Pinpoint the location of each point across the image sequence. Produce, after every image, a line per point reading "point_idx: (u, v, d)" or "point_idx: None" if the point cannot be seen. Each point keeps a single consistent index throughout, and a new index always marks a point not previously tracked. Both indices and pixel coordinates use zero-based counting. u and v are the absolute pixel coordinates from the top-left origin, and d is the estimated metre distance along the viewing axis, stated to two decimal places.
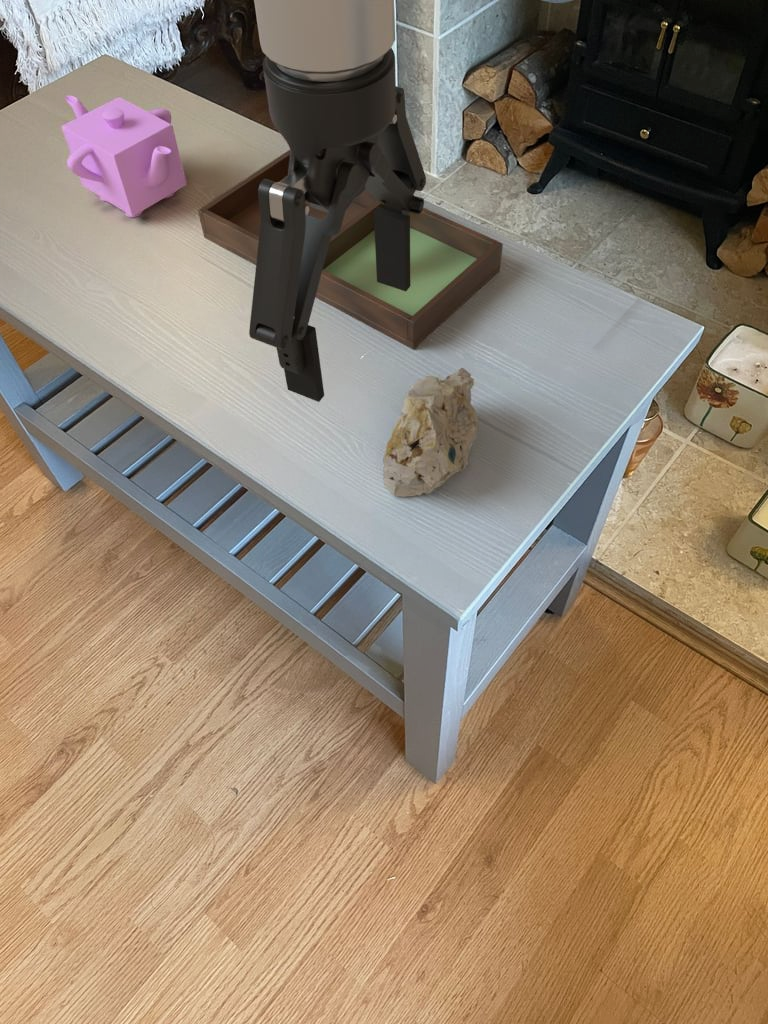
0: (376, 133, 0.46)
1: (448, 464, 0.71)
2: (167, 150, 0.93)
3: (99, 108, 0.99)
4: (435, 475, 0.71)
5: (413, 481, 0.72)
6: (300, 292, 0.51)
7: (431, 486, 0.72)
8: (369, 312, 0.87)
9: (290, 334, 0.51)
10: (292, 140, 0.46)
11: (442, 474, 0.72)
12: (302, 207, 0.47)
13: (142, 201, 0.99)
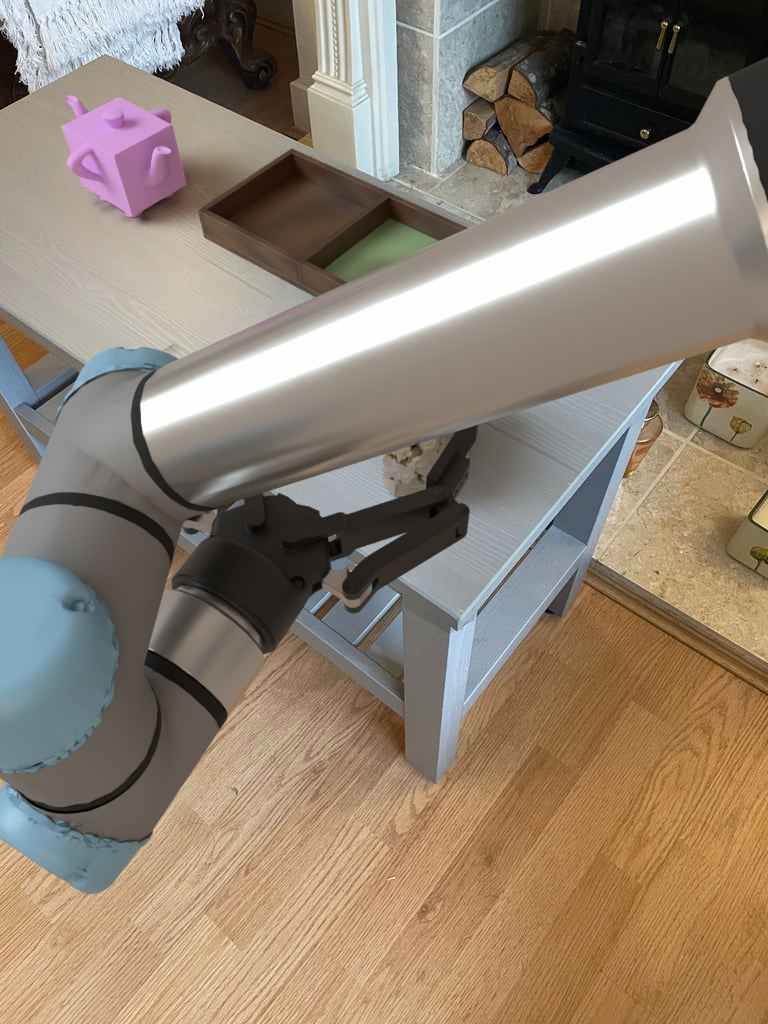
0: (256, 554, 0.47)
1: None
2: (167, 150, 0.93)
3: (99, 108, 0.99)
4: None
5: (413, 481, 0.72)
6: (409, 514, 0.51)
7: None
8: None
9: (451, 508, 0.51)
10: (302, 606, 0.49)
11: None
12: (353, 576, 0.48)
13: (142, 201, 0.99)
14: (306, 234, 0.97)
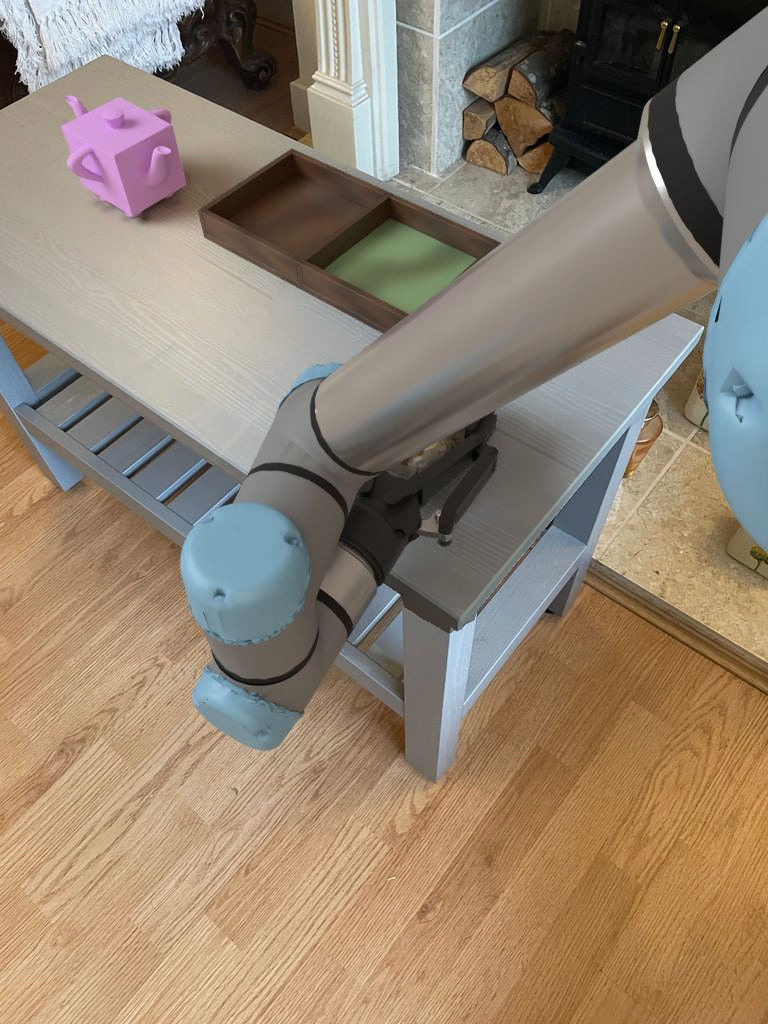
0: (371, 511, 0.63)
1: None
2: (167, 150, 0.93)
3: (99, 108, 0.99)
4: None
5: None
6: (461, 460, 0.69)
7: None
8: (369, 312, 0.87)
9: (485, 451, 0.69)
10: (401, 552, 0.65)
11: None
12: (443, 517, 0.65)
13: (142, 201, 0.99)
14: (306, 234, 0.97)
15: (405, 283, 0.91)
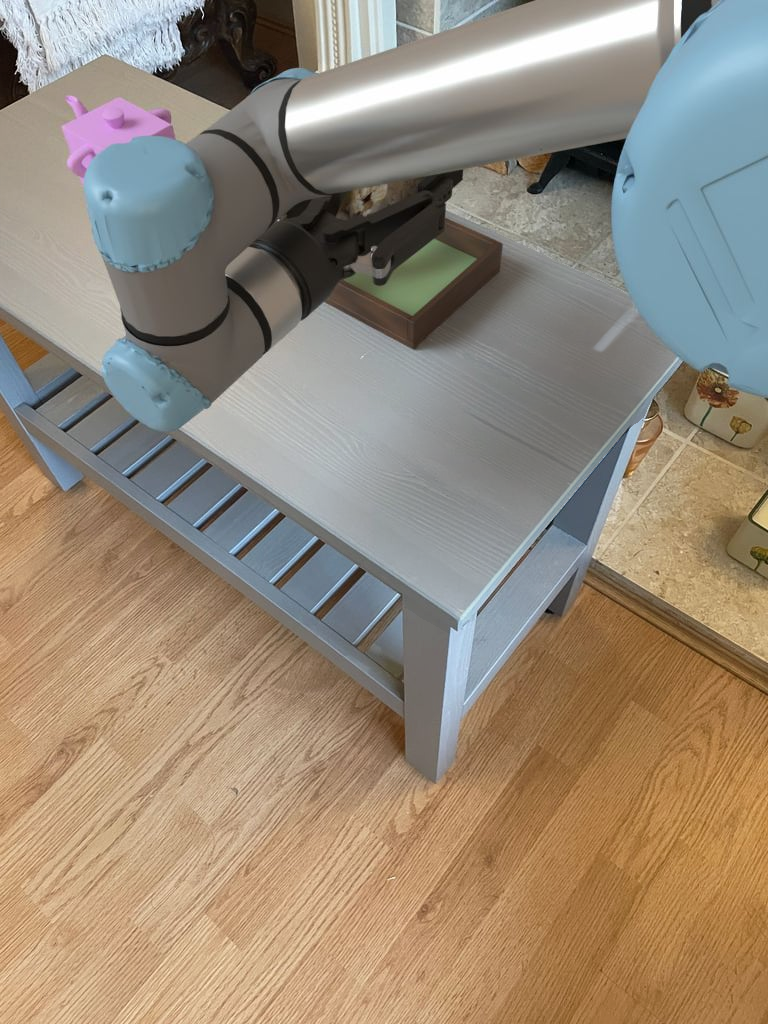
0: (303, 230, 0.63)
1: None
2: None
3: (99, 108, 0.99)
4: None
5: None
6: (408, 212, 0.69)
7: None
8: (369, 312, 0.87)
9: (432, 204, 0.69)
10: (334, 283, 0.66)
11: None
12: (377, 251, 0.65)
13: None
14: None
15: (405, 283, 0.91)
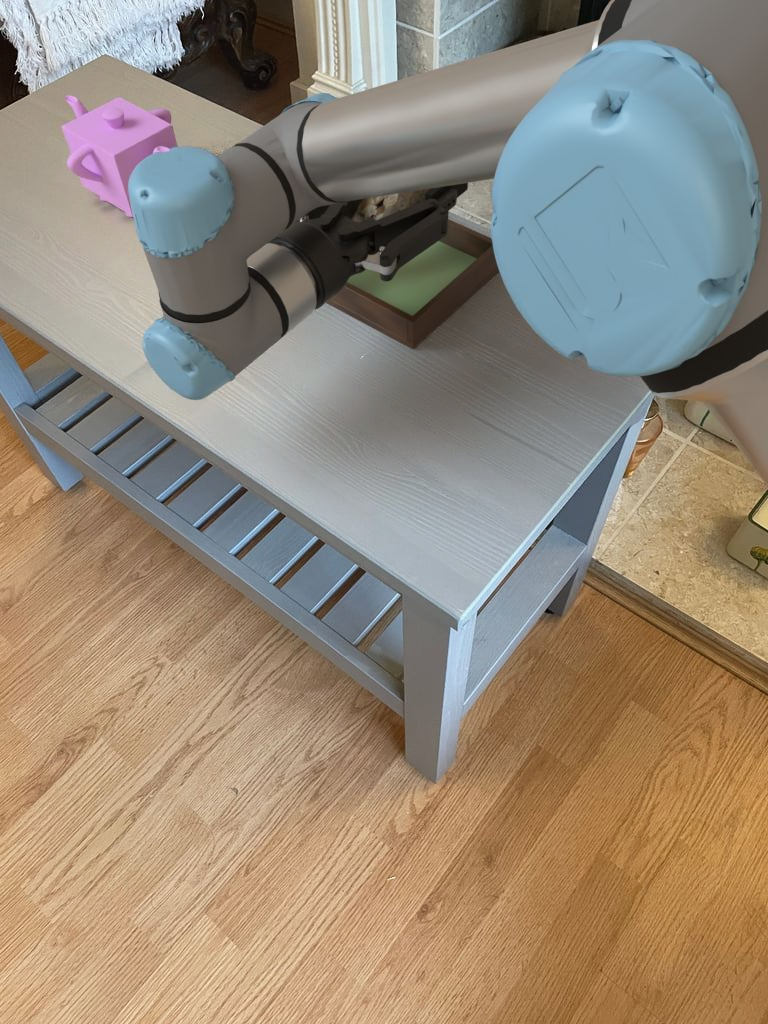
0: (320, 230, 0.73)
1: None
2: (167, 150, 0.93)
3: (99, 108, 0.99)
4: None
5: None
6: (415, 217, 0.79)
7: None
8: (369, 312, 0.87)
9: (436, 211, 0.78)
10: (346, 278, 0.75)
11: None
12: (385, 251, 0.75)
13: None
14: None
15: (405, 283, 0.91)
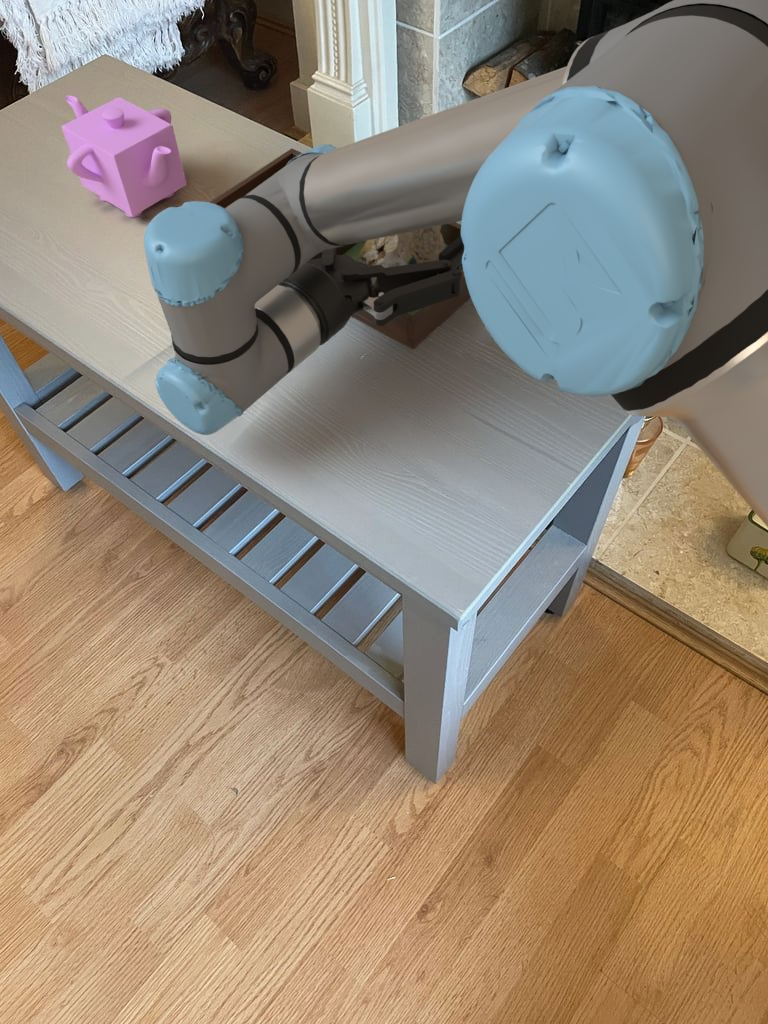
0: (324, 272, 0.77)
1: None
2: (167, 150, 0.93)
3: (99, 108, 0.99)
4: None
5: None
6: (423, 274, 0.81)
7: None
8: None
9: (451, 271, 0.80)
10: (348, 316, 0.79)
11: None
12: (381, 298, 0.78)
13: (142, 201, 0.99)
14: None
15: None
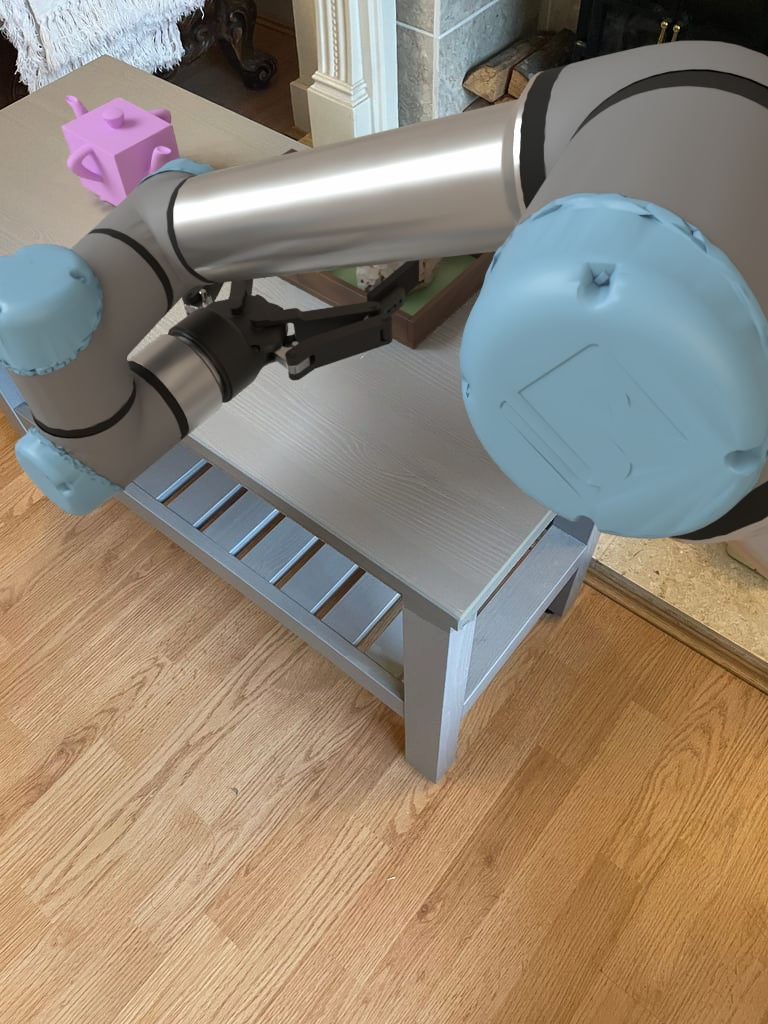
0: (226, 319, 0.65)
1: None
2: (167, 150, 0.93)
3: (99, 108, 0.99)
4: None
5: (377, 282, 0.86)
6: (347, 318, 0.69)
7: None
8: None
9: (379, 316, 0.68)
10: (257, 369, 0.67)
11: None
12: (295, 348, 0.66)
13: None
14: None
15: None
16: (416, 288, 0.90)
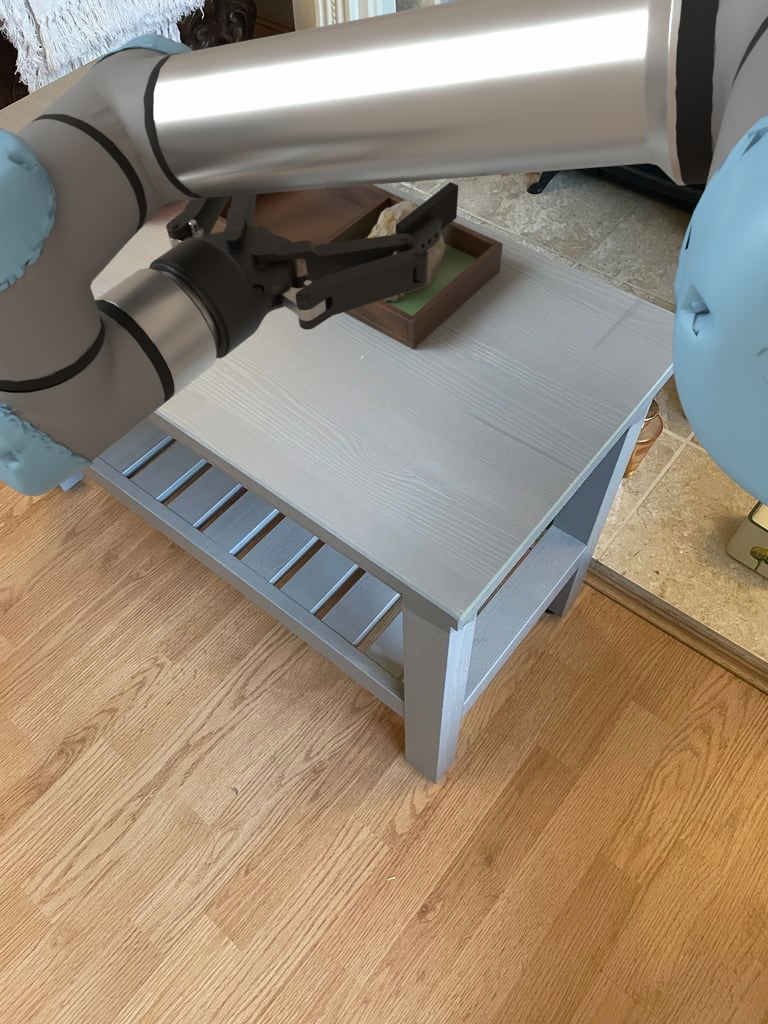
0: (221, 250, 0.52)
1: None
2: None
3: None
4: None
5: None
6: (372, 254, 0.55)
7: None
8: (369, 312, 0.87)
9: (412, 250, 0.55)
10: (261, 315, 0.54)
11: None
12: (307, 288, 0.53)
13: None
14: (306, 234, 0.97)
15: None
16: None
